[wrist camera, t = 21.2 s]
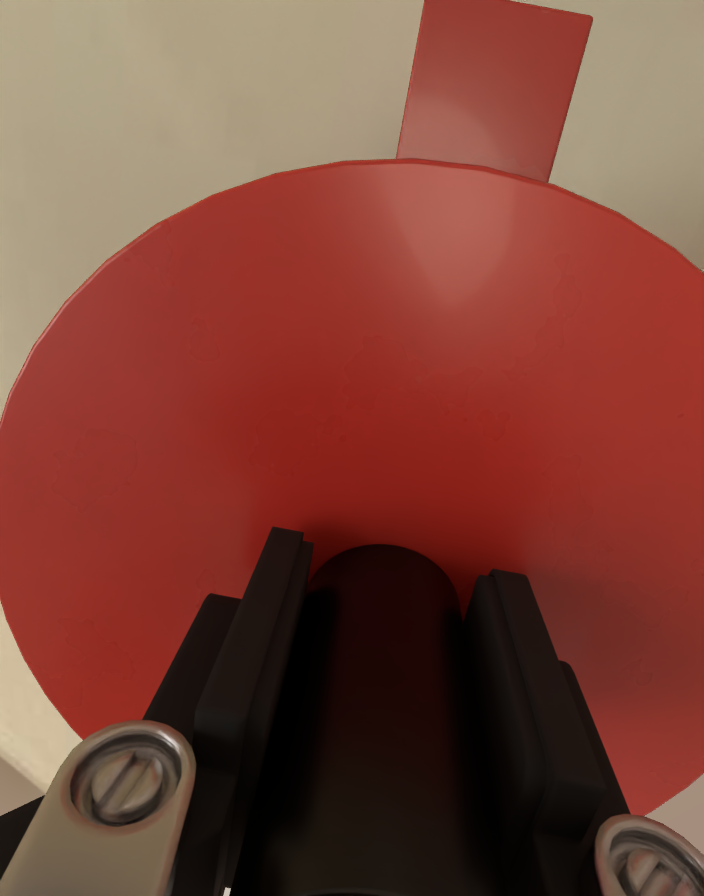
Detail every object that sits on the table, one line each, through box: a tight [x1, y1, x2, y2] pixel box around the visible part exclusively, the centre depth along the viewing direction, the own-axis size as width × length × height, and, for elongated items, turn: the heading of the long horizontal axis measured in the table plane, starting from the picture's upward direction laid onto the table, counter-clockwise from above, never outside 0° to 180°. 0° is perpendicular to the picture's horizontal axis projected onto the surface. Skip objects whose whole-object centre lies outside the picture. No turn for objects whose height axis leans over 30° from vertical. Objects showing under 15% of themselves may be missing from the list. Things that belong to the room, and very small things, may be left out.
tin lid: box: [0, 158, 704, 896], centre depth 8 cm, size 15×15×7 cm
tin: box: [396, 0, 593, 183], centre depth 15 cm, size 14×19×10 cm
